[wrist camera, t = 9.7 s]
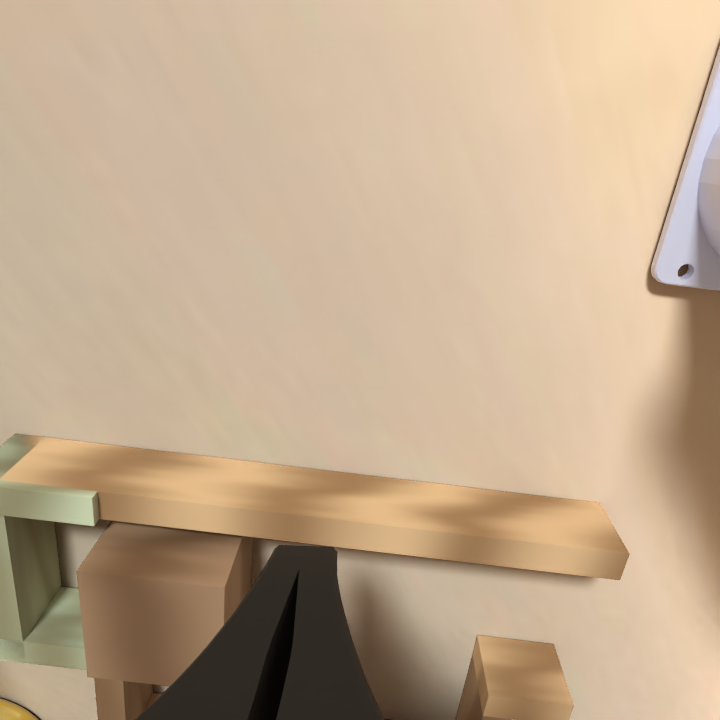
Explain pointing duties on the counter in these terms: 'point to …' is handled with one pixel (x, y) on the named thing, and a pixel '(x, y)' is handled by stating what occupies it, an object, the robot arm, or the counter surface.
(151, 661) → the walnut block
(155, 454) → the trap lane
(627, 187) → the counter surface
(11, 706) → the plant pot
